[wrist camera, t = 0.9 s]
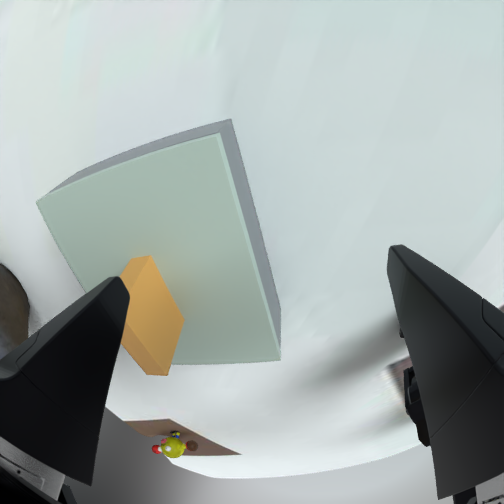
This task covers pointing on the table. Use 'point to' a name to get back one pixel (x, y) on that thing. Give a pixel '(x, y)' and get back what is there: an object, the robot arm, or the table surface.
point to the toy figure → (174, 446)
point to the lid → (169, 255)
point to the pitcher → (12, 312)
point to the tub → (241, 188)
